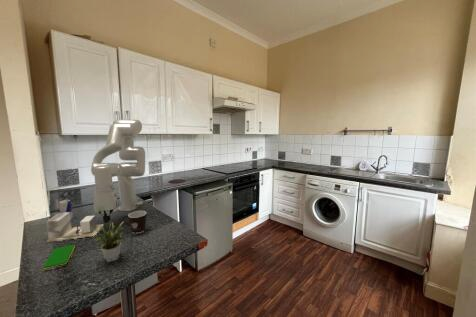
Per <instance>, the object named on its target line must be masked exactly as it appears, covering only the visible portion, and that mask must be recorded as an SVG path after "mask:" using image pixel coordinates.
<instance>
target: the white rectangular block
mask: <svg viewBox="0 0 476 317" xmlns="http://www.w3.org/2000/svg"><path fill="white" fill-rule="evenodd" d="M79 224H80V226H79V227H81V230H80V231H79V234H81V233H87V232H92V231H93V229H94V228H95V227H96V226H97V225H98V224H97V216H96V215H86V216H84V218H83V219H81V220H80V221H79Z"/></svg>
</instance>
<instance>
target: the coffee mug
mask: <svg viewBox="0 0 476 317" xmlns="http://www.w3.org/2000/svg"><path fill="white" fill-rule="evenodd" d="M125 218H127V219H128V220H129V223H127V222H126V221H125ZM121 220H122V222H123V221H125V222H124V223H123V224H125V225H126V226H128V227H130V231H131V233H132V232H135V233H136V232H141V231H143V230H145V231H146V226H147V224H146V223H147V211H145V210H136V211H131V213H128V215H125V216H123V217H122V219H121Z"/></svg>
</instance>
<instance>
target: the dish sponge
mask: <svg viewBox="0 0 476 317" xmlns="http://www.w3.org/2000/svg"><path fill="white" fill-rule="evenodd" d="M74 248H75V249H76V246H75V244H70V245H65V246H60V247H56V248H54V249H53V250H52V252H51V254H50V255H49V257H48V259H47V260H46V262H45V264H44V265H43V267H42V268H43V269H47V268H50V267H54V266H58V265H63V264H66V263H67V262H68V260H69V258H70V256H71V254H72V252H73V250H74ZM74 251H75V250H74ZM73 253H74V252H73ZM72 255H73V254H72ZM71 257H72V256H71ZM43 269H42V270H43Z"/></svg>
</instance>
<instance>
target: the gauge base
mask: <svg viewBox="0 0 476 317" xmlns="http://www.w3.org/2000/svg"><path fill="white" fill-rule="evenodd" d="M104 224H105V223H102V224H97V226H96V227H95V228H94V229H95V230H97V231H99V232H101V231H102V230H101V228H99V226H100V225H101V226H103V227H104ZM101 226H100V227H101ZM46 229H47V236H48V239H47V240H46V243H47V242H48V243H55V242H54V241H57V242H64V241H63V240H65V241H71V240H70V239H74V240H78V239H77V238H83V239H86V238H85V237H92V236H95V235H96V234H97V233H98V232H97V231H95V230H93V231H92V232H87V233H81V234H79V235H78V234H76V231H77V226H74V227H72V220H71V219H70V212H65V213H60V212H58V213H57V214H55V215H54V216H52V217H51V218H49V219H48V220H47V221H46ZM78 230H81V226H78ZM98 234H99V233H98ZM98 234H97V235H98ZM97 235H96V236H97ZM96 236H95V237H96ZM92 238H93V237H92Z"/></svg>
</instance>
